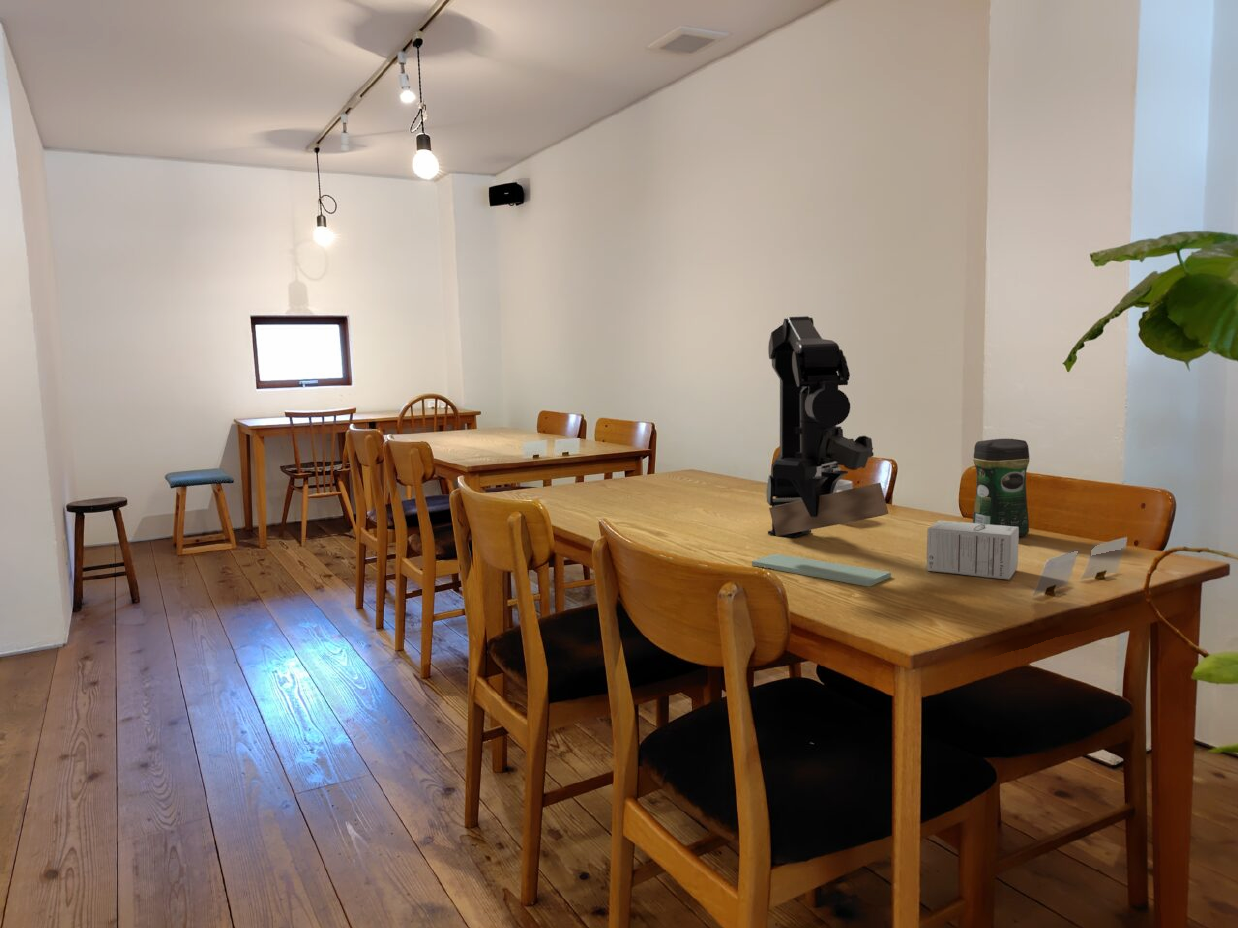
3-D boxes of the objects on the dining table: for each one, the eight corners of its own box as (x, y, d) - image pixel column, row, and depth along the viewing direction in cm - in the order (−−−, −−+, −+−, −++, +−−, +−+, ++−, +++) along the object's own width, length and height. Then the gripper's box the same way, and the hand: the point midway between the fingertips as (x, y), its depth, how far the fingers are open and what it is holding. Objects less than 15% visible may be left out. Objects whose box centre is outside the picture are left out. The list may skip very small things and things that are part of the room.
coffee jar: (1009, 528, 166) (1011, 435, 163) (1035, 537, 158) (1038, 439, 156) (964, 532, 164) (966, 438, 162) (989, 540, 156) (991, 442, 154)
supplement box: (937, 519, 141) (1019, 525, 134) (936, 562, 142) (1018, 570, 135) (926, 526, 135) (1012, 534, 128) (925, 571, 136) (1010, 581, 129)
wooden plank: (776, 536, 143) (768, 507, 143) (784, 533, 145) (777, 505, 145) (881, 516, 129) (872, 484, 129) (888, 513, 130) (880, 482, 131)
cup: (860, 523, 176) (860, 486, 175) (822, 525, 176) (822, 487, 175) (847, 514, 186) (847, 478, 185) (811, 515, 187) (811, 480, 186)
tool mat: (751, 565, 144) (751, 561, 144) (774, 557, 149) (774, 553, 149) (869, 586, 129) (869, 581, 129) (890, 577, 134) (890, 572, 134)
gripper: (832, 427, 124) (832, 531, 126) (891, 417, 137) (890, 511, 139) (769, 425, 132) (770, 522, 134) (831, 416, 145) (831, 505, 147)
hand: (818, 515), depth 138 cm, fingers closed on wooden plank, 2 cm apart
